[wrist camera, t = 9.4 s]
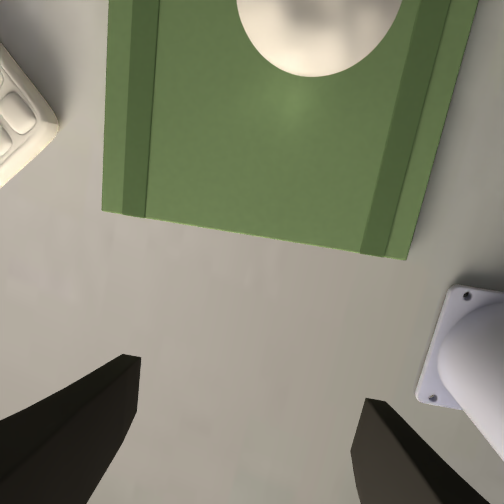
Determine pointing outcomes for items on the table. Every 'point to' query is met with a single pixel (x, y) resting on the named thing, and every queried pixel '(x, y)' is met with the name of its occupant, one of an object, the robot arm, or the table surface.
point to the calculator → (21, 119)
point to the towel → (275, 127)
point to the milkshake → (313, 41)
